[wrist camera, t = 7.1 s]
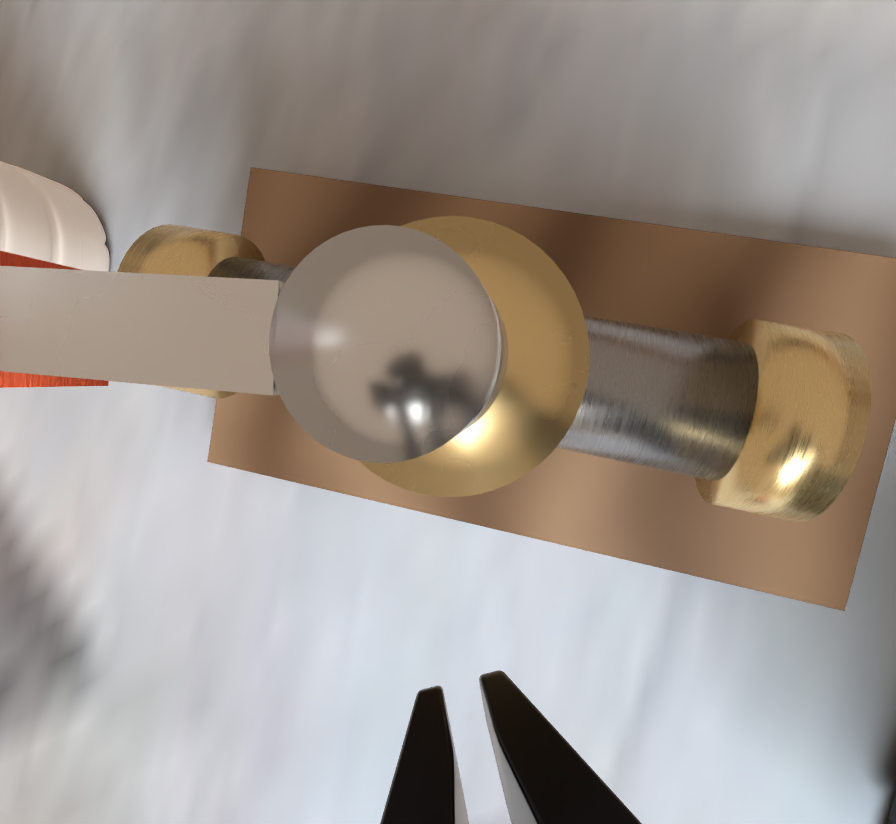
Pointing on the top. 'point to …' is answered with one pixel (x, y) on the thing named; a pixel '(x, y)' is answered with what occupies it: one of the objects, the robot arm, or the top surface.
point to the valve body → (610, 383)
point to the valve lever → (279, 337)
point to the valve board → (621, 299)
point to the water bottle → (49, 222)
